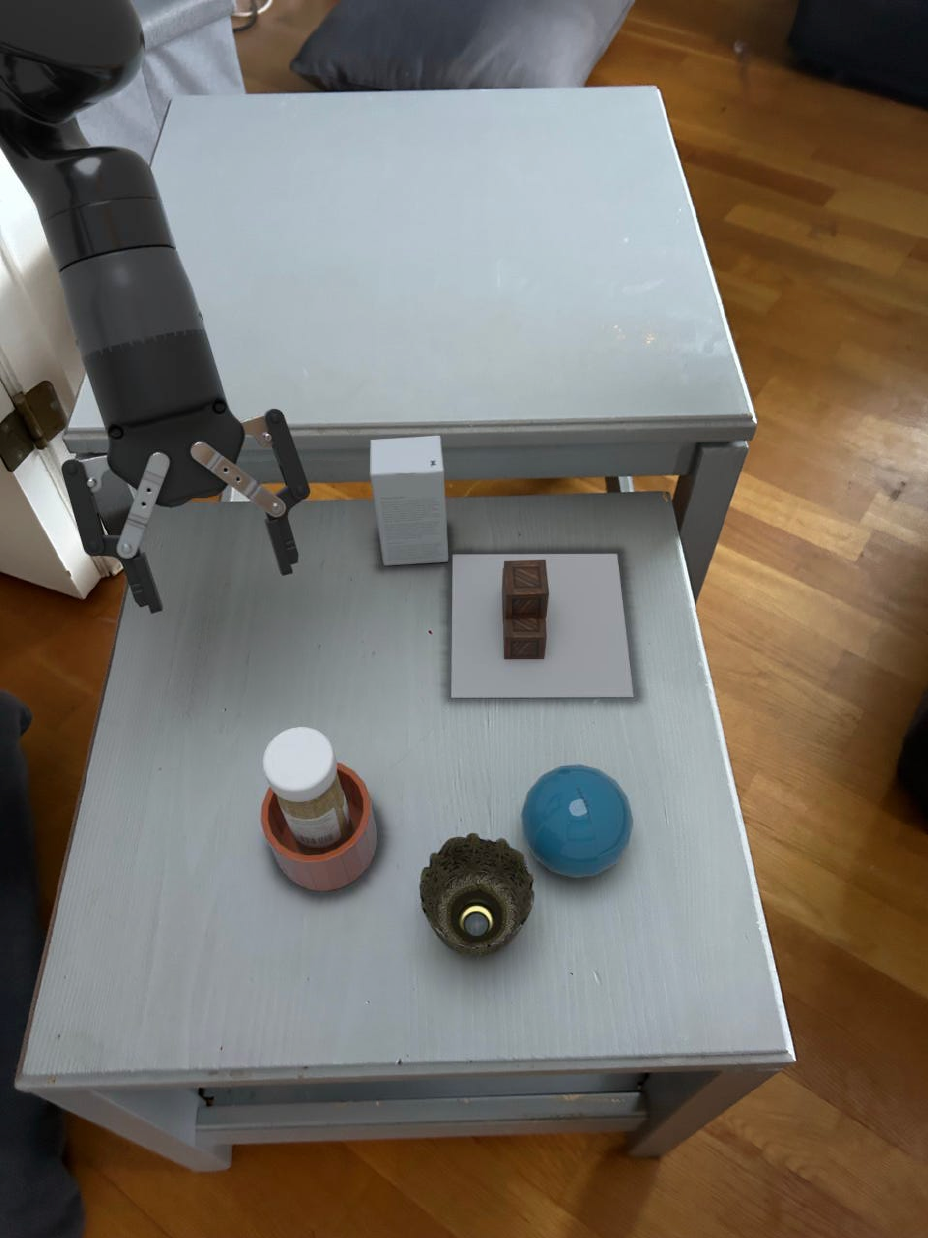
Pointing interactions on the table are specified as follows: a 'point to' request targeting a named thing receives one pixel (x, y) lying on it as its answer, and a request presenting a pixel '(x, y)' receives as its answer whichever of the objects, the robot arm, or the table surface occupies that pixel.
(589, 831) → the ball
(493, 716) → the table surface
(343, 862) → the pot
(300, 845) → the sprinkles bottle
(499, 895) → the cup
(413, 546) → the cosmetic box
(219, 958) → the table surface
